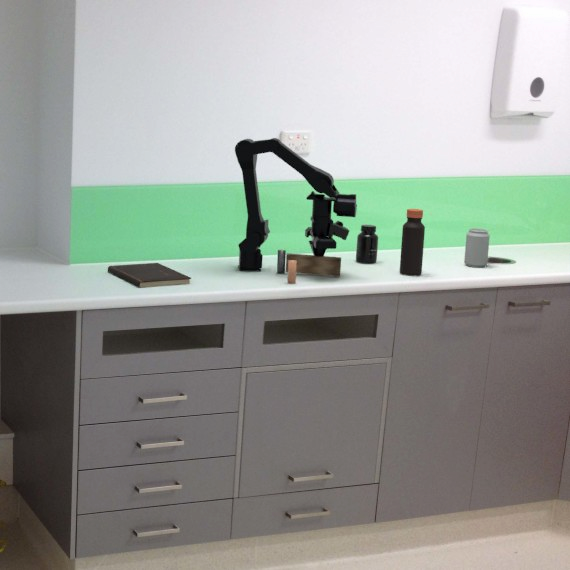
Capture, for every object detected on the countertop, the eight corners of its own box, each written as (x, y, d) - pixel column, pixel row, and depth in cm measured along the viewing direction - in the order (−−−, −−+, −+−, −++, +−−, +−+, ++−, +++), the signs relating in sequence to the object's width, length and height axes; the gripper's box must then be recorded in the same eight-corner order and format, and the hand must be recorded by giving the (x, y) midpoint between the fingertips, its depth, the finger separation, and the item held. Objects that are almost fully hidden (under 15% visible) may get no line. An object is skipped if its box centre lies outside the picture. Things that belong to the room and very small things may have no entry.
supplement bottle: (375, 264, 344) (377, 228, 341) (354, 263, 345) (356, 226, 343) (377, 261, 350) (380, 224, 348) (357, 259, 352) (359, 223, 349)
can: (461, 266, 348) (464, 229, 346) (466, 262, 355) (469, 226, 353) (484, 268, 346) (487, 232, 343) (489, 265, 353) (492, 229, 350)
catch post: (288, 283, 310) (289, 261, 308) (286, 281, 312) (287, 259, 311) (296, 283, 310) (297, 261, 309) (294, 281, 312) (296, 260, 311)
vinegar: (408, 270, 337) (413, 207, 332) (425, 274, 332) (430, 210, 328) (395, 273, 332) (399, 209, 328) (412, 276, 327) (416, 212, 323)
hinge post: (277, 273, 322) (278, 251, 321) (276, 272, 325) (277, 249, 323) (285, 274, 323) (286, 251, 321) (284, 272, 325) (285, 249, 324)
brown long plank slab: (285, 272, 322) (286, 254, 321) (286, 271, 324) (287, 253, 323) (339, 276, 320) (340, 258, 319) (340, 275, 321) (341, 257, 320)
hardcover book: (157, 270, 323) (157, 262, 322) (191, 285, 304) (191, 277, 303) (107, 273, 315) (107, 265, 314) (138, 289, 295) (139, 281, 295)
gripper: (354, 221, 313) (351, 273, 317) (341, 209, 331) (338, 258, 335) (317, 220, 311) (314, 272, 315) (305, 209, 329) (303, 258, 333)
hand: (318, 265), depth 324 cm, fingers closed
